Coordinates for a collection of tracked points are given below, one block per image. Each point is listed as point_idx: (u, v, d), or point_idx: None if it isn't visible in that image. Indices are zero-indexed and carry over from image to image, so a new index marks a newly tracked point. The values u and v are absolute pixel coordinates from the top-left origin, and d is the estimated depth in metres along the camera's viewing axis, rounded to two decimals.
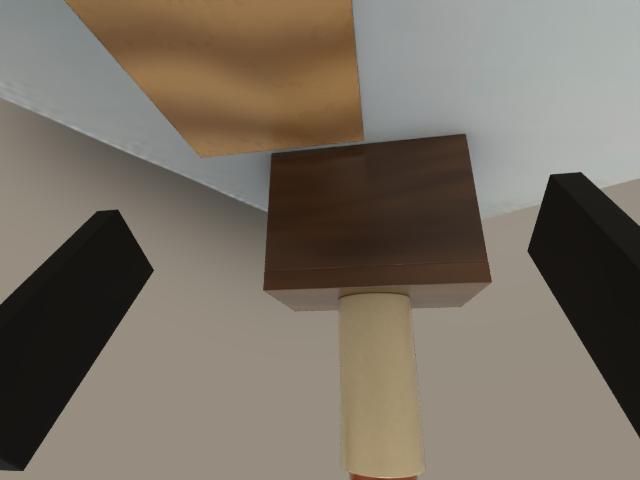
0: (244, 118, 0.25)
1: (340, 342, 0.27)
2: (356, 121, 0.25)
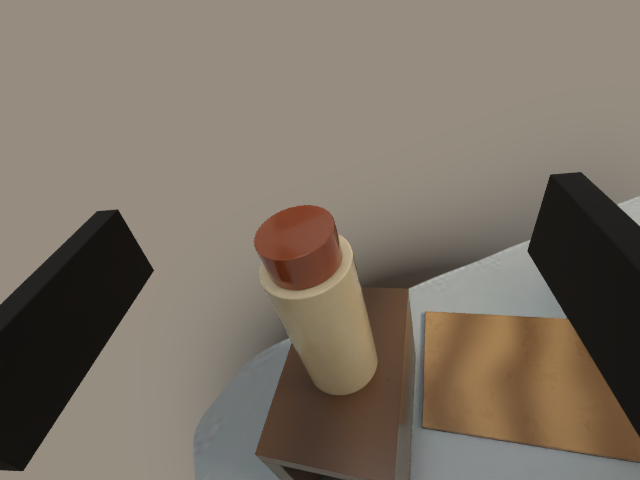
0: (462, 354, 0.39)
1: None
2: (447, 425, 0.34)
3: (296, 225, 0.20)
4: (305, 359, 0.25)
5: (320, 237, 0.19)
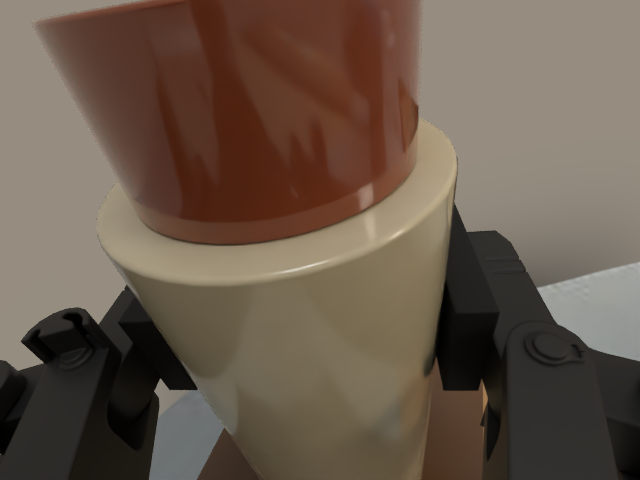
0: None
1: None
2: None
3: None
4: (250, 464, 0.09)
5: None
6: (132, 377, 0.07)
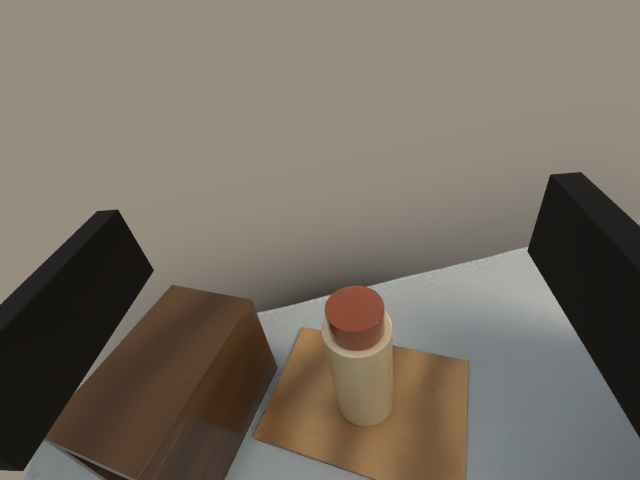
0: (318, 372, 0.40)
1: None
2: (275, 439, 0.35)
3: (355, 303, 0.28)
4: (342, 396, 0.32)
5: (374, 317, 0.27)
6: None
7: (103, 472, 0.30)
